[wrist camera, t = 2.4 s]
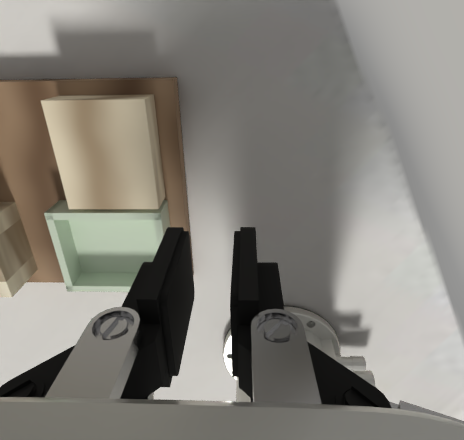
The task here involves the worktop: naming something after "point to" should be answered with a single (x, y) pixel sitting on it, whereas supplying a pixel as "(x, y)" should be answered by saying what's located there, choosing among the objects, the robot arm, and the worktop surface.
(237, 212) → the worktop surface
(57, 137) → the beige cardboard box
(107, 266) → the tray
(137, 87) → the board
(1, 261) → the holder
